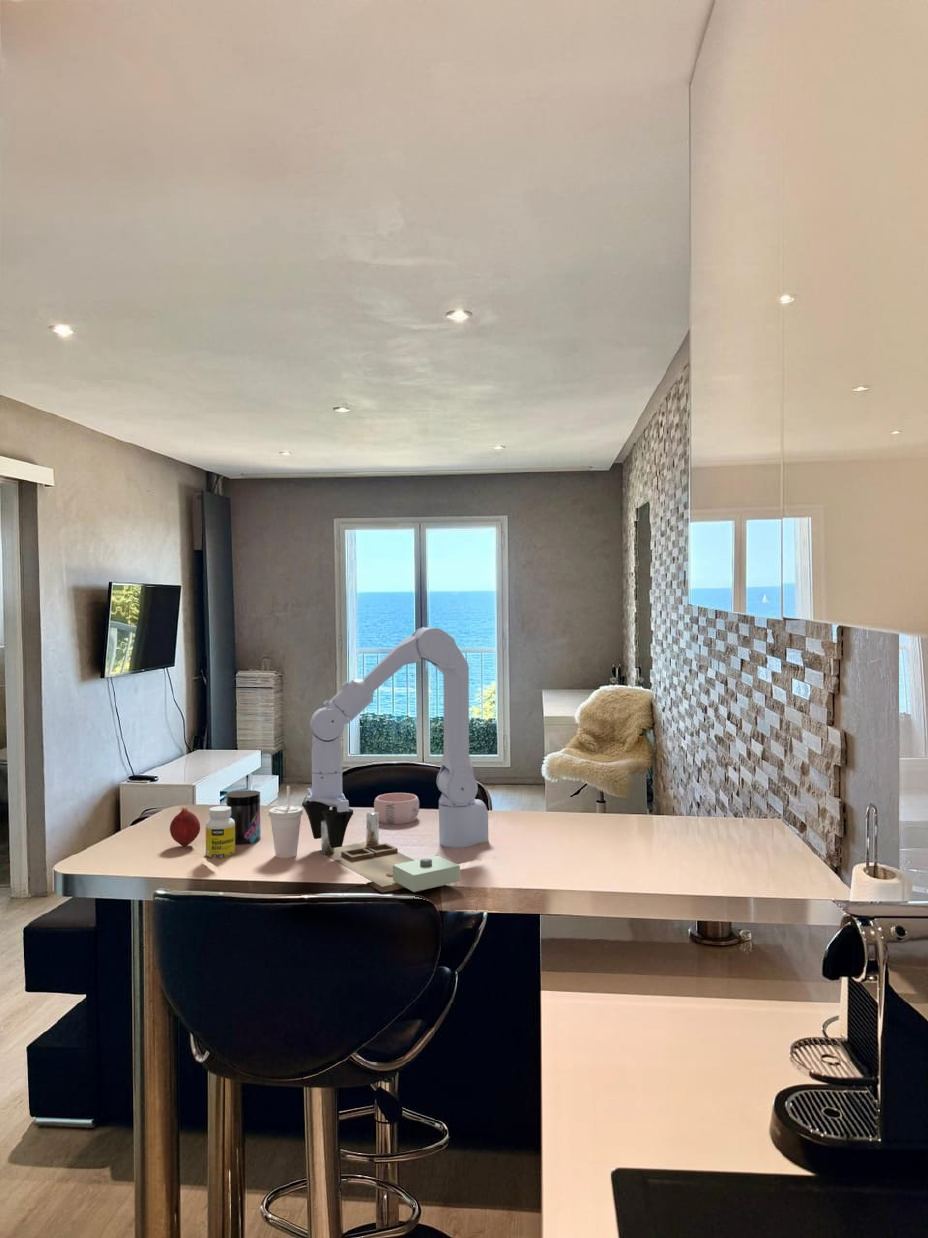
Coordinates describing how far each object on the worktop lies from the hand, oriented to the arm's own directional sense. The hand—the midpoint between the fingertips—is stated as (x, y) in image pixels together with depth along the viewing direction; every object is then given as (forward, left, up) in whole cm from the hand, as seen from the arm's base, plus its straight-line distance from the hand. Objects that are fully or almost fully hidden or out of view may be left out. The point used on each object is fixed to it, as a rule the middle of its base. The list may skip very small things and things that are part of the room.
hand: (327, 842), depth 160 cm
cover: (-6, +26, -2) cm, 27 cm away
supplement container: (+10, -18, -3) cm, 21 cm away
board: (-5, +11, -3) cm, 12 cm away
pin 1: (0, 0, -2) cm, 2 cm away
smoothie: (+7, -3, -3) cm, 8 cm away
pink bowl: (-24, -15, -3) cm, 29 cm away
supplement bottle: (+17, -11, -3) cm, 21 cm away
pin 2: (-10, 0, -2) cm, 10 cm away
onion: (+20, -24, -3) cm, 32 cm away
